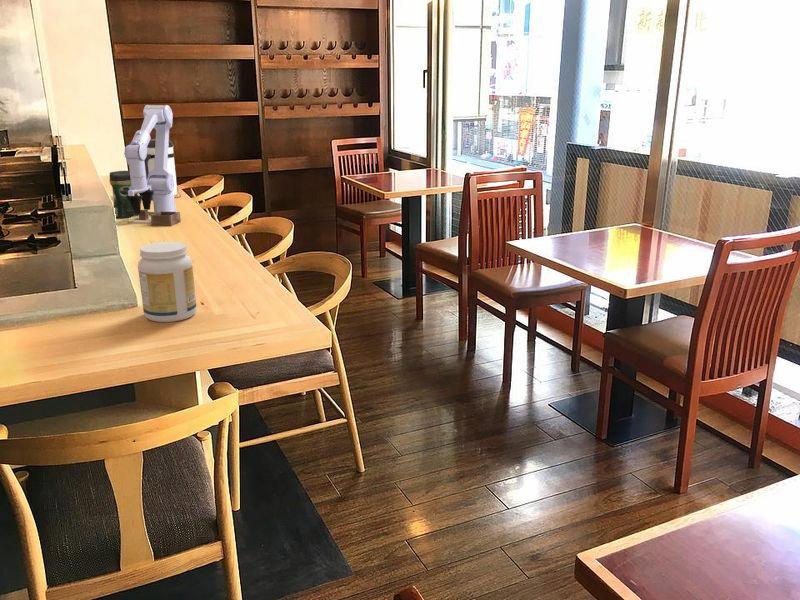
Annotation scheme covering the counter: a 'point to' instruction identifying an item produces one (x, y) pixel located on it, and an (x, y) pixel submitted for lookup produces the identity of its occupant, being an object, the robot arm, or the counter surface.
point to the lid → (142, 218)
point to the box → (165, 218)
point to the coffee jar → (121, 194)
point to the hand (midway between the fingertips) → (142, 211)
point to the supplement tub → (166, 282)
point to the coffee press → (170, 165)
